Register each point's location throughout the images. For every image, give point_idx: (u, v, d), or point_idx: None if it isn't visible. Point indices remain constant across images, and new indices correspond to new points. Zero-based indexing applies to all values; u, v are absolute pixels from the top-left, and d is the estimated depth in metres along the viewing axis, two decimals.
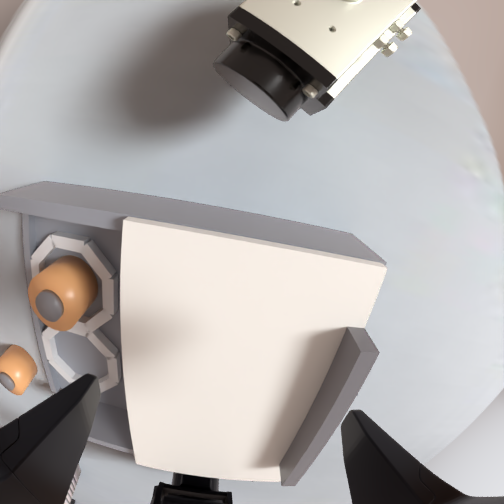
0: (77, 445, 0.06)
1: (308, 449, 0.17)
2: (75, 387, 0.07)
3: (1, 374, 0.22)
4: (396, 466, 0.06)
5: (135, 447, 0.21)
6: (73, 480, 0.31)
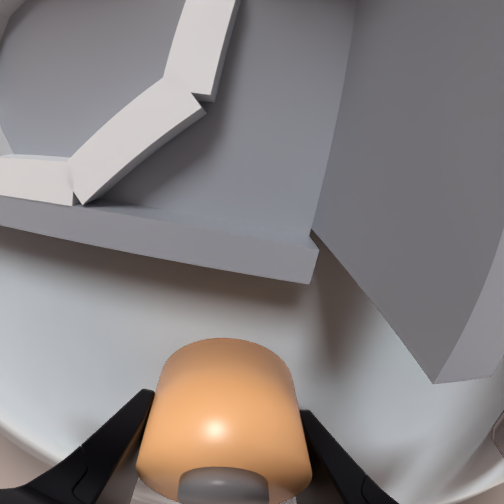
0: None
1: None
2: (135, 405, 0.07)
3: None
4: (335, 475, 0.06)
5: None
6: None
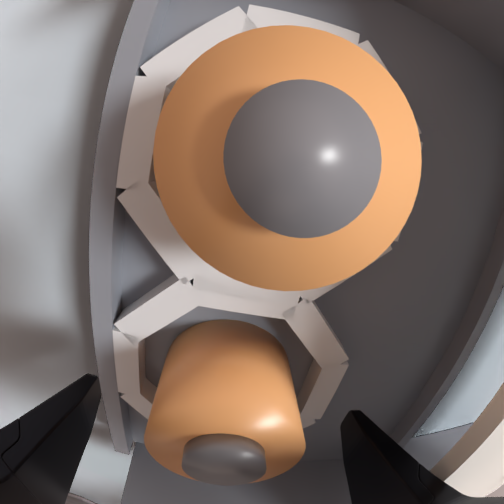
0: (78, 445, 0.06)
1: None
2: (76, 387, 0.07)
3: None
4: (395, 466, 0.06)
5: None
6: None
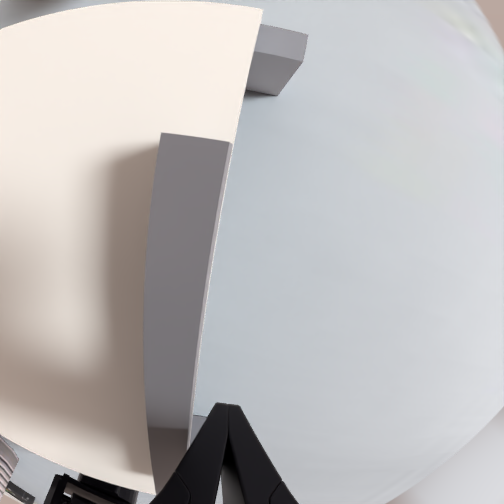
0: None
1: (154, 455, 0.08)
2: (215, 420, 0.08)
3: None
4: (245, 477, 0.06)
5: None
6: (6, 467, 0.22)
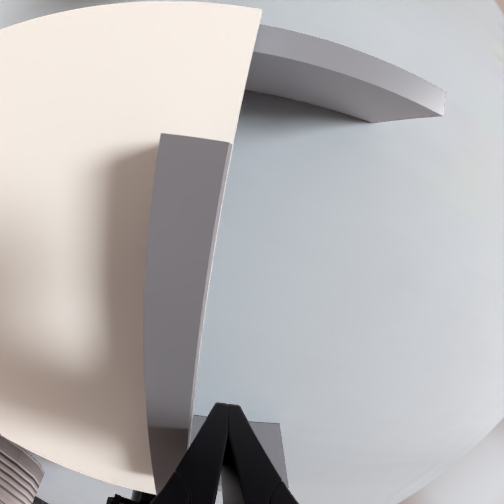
0: None
1: (155, 455, 0.08)
2: (215, 420, 0.08)
3: None
4: (245, 477, 0.06)
5: None
6: (32, 482, 0.22)
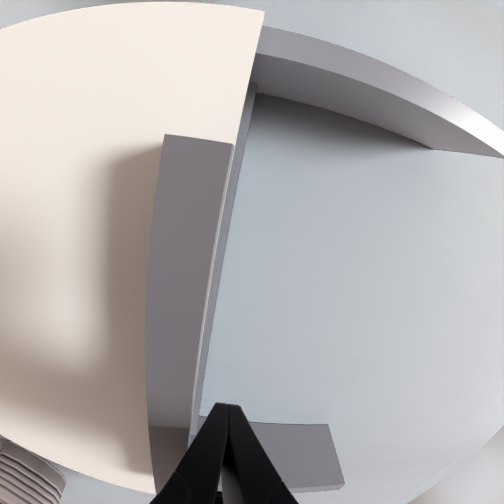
0: None
1: (155, 454, 0.08)
2: (215, 420, 0.08)
3: None
4: (245, 477, 0.06)
5: None
6: (56, 493, 0.23)
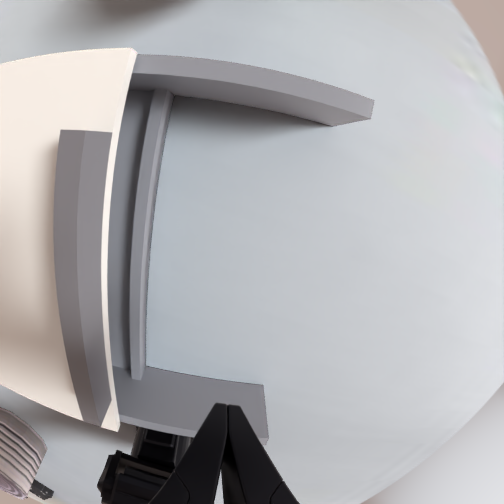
0: None
1: (65, 340, 0.12)
2: (215, 420, 0.08)
3: None
4: (246, 477, 0.06)
5: None
6: (35, 457, 0.26)
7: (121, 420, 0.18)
